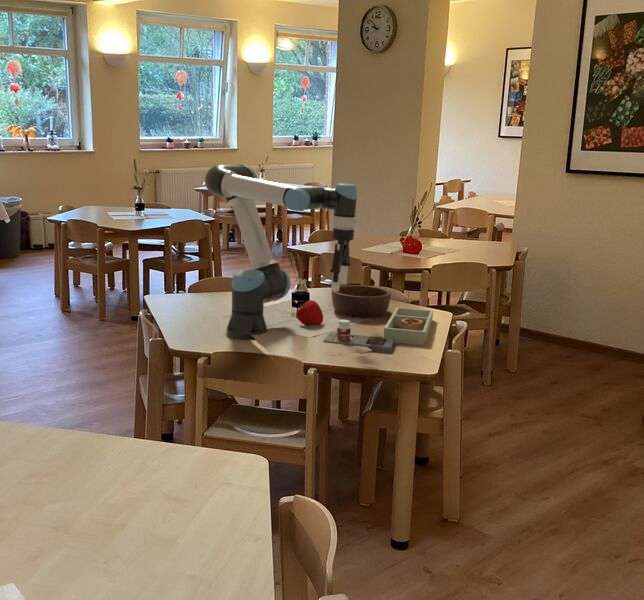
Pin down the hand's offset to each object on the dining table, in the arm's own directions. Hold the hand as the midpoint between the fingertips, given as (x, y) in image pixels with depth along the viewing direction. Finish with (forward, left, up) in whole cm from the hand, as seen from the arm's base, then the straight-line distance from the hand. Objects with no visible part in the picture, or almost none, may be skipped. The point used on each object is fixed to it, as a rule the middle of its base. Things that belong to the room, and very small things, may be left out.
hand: (339, 287), depth 268 cm
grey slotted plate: (+9, -2, -20) cm, 22 cm away
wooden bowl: (+1, +46, -21) cm, 51 cm away
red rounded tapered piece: (-10, +16, -19) cm, 27 cm away
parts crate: (+24, +25, -20) cm, 40 cm away
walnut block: (+15, -2, -20) cm, 25 cm away
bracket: (+24, +30, -23) cm, 45 cm away
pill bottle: (+3, -1, -20) cm, 21 cm away
